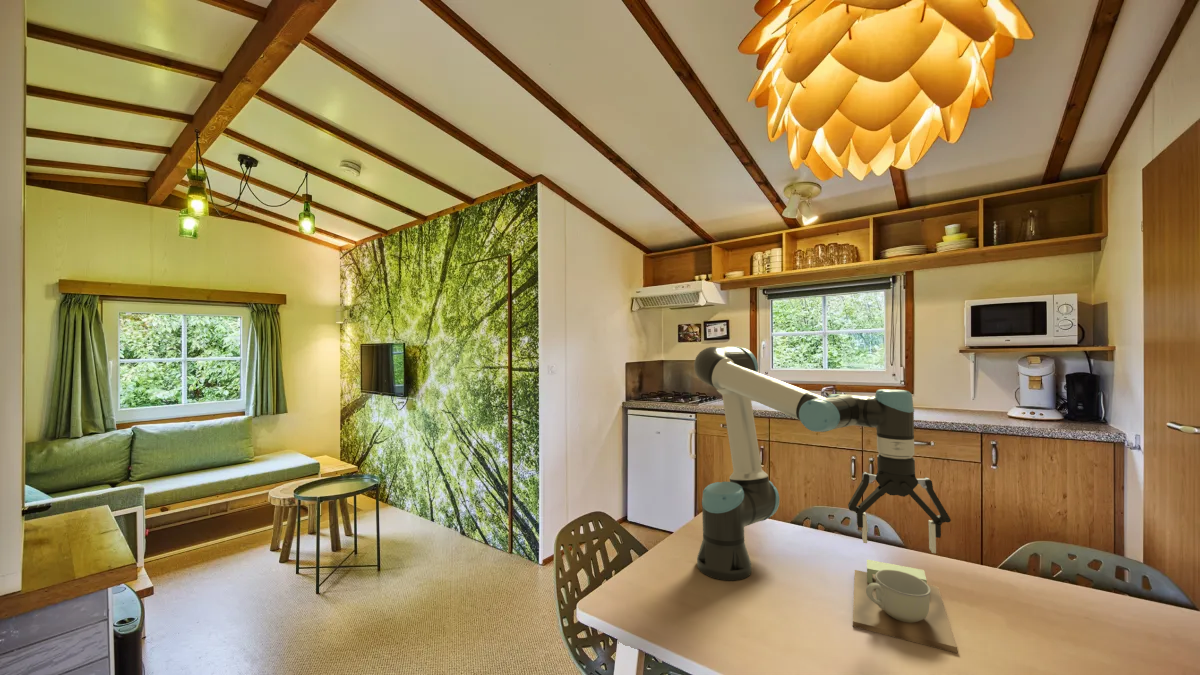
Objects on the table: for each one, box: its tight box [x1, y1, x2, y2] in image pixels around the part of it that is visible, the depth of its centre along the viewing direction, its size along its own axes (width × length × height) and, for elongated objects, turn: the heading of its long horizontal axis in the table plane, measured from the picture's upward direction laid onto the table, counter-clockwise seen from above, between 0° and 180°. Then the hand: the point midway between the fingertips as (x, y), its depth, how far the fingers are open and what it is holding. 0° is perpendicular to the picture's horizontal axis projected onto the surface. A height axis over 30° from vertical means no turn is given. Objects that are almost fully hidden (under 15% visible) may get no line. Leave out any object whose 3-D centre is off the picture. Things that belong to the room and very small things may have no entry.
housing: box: [866, 559, 928, 584], centre depth 121 cm, size 13×6×4 cm, turn 60°
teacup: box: [866, 570, 931, 623], centre depth 107 cm, size 14×11×8 cm
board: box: [852, 569, 958, 654], centre depth 112 cm, size 19×28×3 cm
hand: (897, 545), depth 108 cm, fingers open, 13 cm apart
